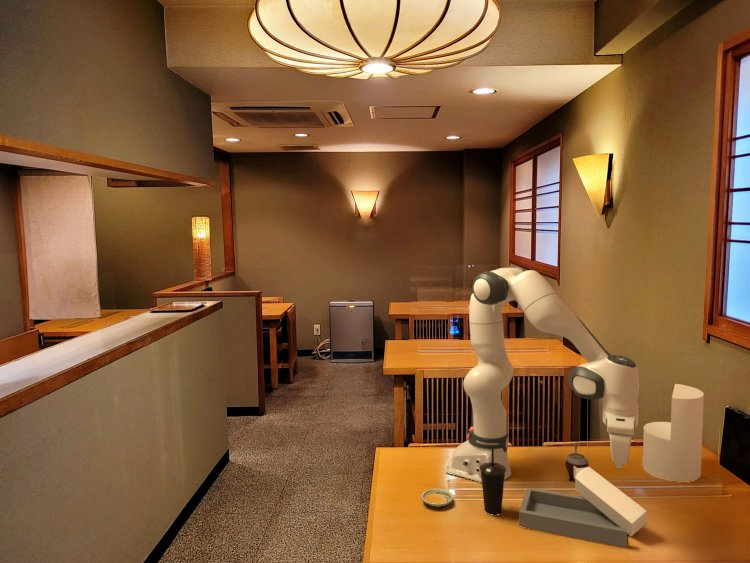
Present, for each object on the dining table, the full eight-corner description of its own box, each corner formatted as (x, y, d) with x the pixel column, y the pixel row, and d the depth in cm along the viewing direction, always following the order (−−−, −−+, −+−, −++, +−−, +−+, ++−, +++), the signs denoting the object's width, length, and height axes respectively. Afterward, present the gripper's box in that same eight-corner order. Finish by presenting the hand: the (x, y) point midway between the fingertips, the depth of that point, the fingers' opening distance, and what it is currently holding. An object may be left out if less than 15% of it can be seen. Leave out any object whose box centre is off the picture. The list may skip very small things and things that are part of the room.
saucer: (456, 498, 168) (456, 491, 167) (447, 514, 159) (447, 506, 159) (427, 493, 172) (427, 486, 171) (417, 508, 163) (417, 500, 163)
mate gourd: (578, 472, 182) (578, 430, 180) (594, 483, 174) (595, 439, 173) (560, 476, 179) (560, 433, 178) (575, 487, 172) (576, 442, 170)
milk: (632, 523, 141) (566, 471, 158) (631, 537, 144) (566, 483, 161) (647, 510, 143) (580, 459, 160) (646, 523, 146) (580, 472, 163)
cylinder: (701, 465, 184) (704, 387, 181) (700, 487, 170) (703, 402, 166) (645, 455, 193) (647, 380, 190) (639, 475, 179) (641, 394, 176)
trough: (519, 526, 151) (519, 511, 150) (526, 501, 164) (526, 487, 164) (626, 548, 140) (626, 531, 139) (625, 518, 153) (625, 503, 153)
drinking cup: (507, 506, 162) (507, 443, 159) (504, 520, 154) (504, 454, 152) (481, 503, 164) (481, 440, 162) (478, 516, 157) (477, 451, 155)
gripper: (607, 402, 155) (606, 448, 156) (607, 428, 136) (606, 479, 137) (631, 405, 152) (630, 451, 153) (634, 431, 133) (633, 484, 135)
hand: (619, 465), depth 145 cm, fingers closed
